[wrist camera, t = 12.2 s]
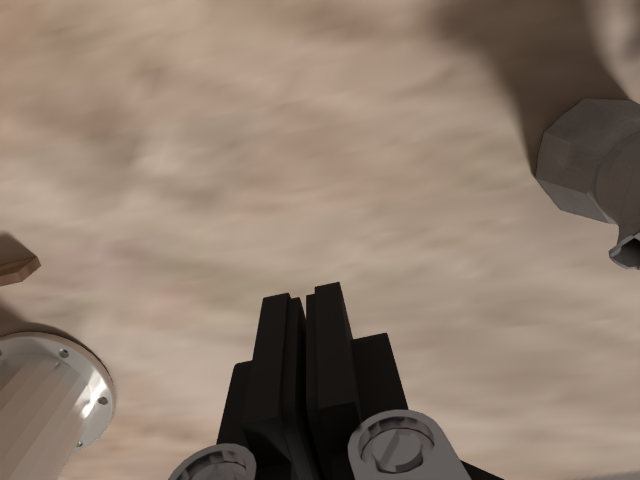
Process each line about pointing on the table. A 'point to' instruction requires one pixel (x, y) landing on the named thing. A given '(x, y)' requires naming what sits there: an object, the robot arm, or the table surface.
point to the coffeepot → (597, 168)
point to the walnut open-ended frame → (17, 271)
